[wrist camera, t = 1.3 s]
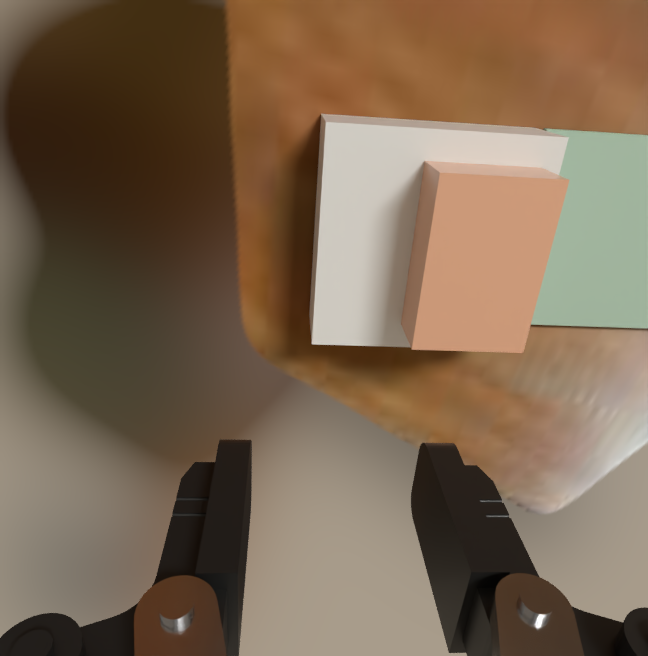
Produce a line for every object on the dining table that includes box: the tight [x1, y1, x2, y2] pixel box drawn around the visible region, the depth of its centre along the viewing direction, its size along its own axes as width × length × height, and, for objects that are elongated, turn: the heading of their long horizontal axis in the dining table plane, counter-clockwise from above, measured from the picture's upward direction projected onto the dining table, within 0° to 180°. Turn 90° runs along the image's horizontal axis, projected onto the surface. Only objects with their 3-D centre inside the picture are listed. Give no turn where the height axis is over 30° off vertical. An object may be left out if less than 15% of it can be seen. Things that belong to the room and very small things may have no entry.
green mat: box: [531, 128, 648, 328], centre depth 33 cm, size 12×12×1 cm
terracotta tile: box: [401, 161, 569, 353], centre depth 27 cm, size 9×6×3 cm, turn 176°
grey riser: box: [309, 114, 569, 347], centre depth 30 cm, size 12×12×4 cm
